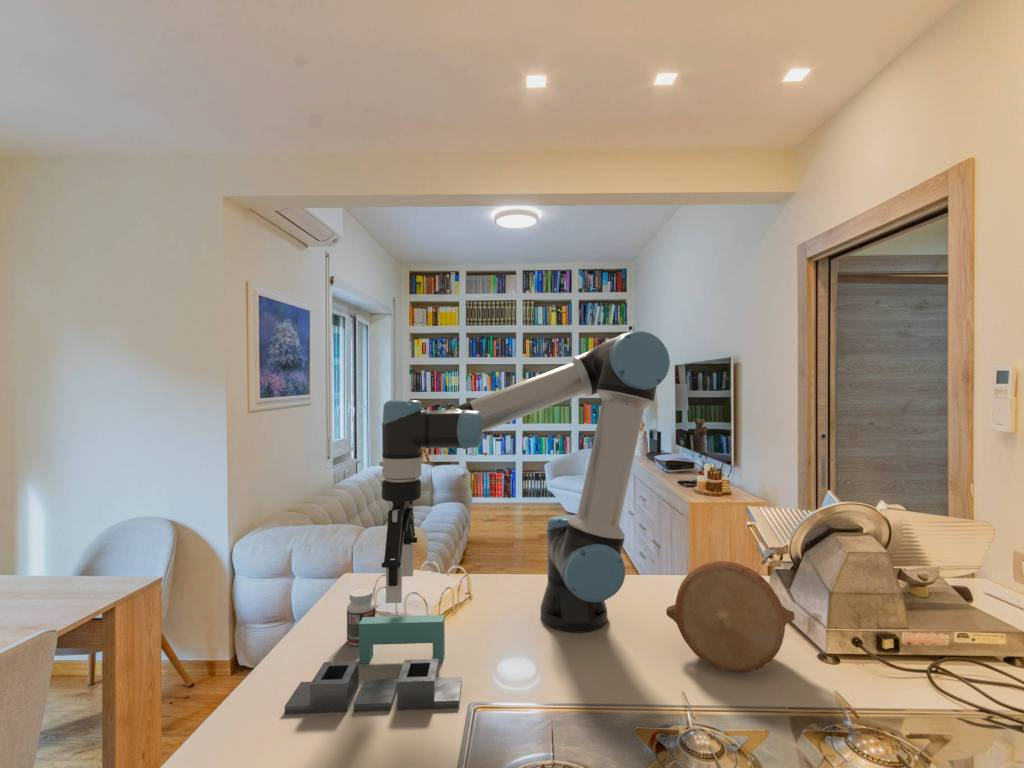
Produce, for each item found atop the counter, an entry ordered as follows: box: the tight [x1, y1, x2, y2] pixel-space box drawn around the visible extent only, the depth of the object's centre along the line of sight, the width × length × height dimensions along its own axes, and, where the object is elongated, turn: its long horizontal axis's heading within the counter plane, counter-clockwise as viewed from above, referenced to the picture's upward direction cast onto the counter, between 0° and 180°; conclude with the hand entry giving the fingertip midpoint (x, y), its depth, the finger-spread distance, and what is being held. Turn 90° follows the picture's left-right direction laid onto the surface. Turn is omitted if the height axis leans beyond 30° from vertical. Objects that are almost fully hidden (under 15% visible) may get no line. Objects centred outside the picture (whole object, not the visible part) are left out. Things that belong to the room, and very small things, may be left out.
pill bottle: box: [346, 587, 376, 647], centre depth 107 cm, size 6×6×10 cm
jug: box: [665, 560, 796, 673], centre depth 103 cm, size 20×19×30 cm
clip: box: [358, 614, 446, 665], centre depth 100 cm, size 16×3×8 cm, turn 92°
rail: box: [284, 658, 463, 715], centre depth 87 cm, size 28×7×4 cm, turn 92°
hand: (400, 588), depth 100 cm, fingers open, 13 cm apart
